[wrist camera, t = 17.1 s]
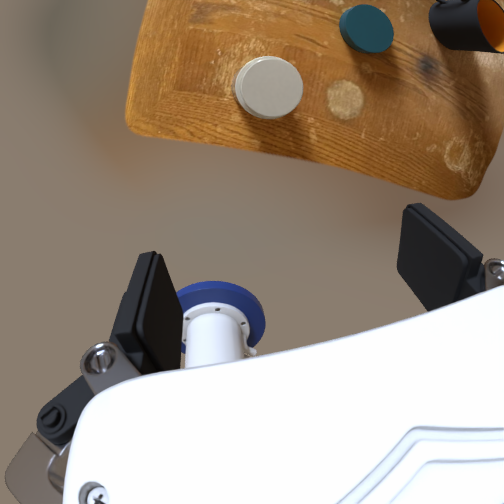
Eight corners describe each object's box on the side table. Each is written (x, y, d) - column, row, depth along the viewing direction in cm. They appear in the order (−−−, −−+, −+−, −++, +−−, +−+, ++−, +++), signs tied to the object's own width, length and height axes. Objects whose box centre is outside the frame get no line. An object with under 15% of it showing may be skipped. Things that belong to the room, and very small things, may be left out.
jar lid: (337, 3, 26) (343, -1, 25) (383, 11, 27) (391, 9, 25) (340, 50, 30) (347, 49, 28) (386, 56, 30) (394, 56, 29)
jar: (293, 76, 32) (319, 75, 23) (269, 120, 34) (287, 133, 26) (246, 53, 30) (256, 42, 21) (222, 98, 32) (224, 103, 24)
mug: (428, -25, 22) (472, -36, 14) (472, 34, 27) (518, 37, 19) (403, -3, 25) (449, -14, 17) (451, 59, 30) (499, 64, 21)
